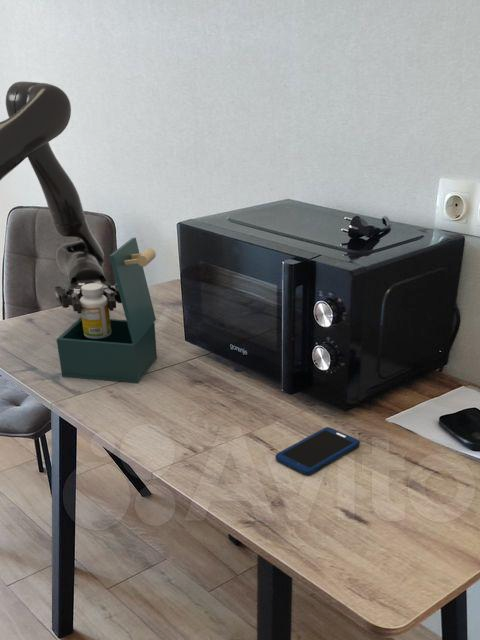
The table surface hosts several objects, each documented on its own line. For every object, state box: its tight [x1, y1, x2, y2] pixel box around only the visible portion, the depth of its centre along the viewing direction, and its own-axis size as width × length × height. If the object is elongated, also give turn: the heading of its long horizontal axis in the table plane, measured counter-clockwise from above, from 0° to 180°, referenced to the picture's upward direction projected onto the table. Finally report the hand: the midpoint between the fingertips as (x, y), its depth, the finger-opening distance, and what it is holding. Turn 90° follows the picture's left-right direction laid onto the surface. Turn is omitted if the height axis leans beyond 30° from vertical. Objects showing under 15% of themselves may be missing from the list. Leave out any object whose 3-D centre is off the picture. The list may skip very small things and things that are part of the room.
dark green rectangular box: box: [55, 316, 158, 384], centre depth 141 cm, size 16×13×8 cm
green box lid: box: [108, 237, 157, 343], centre depth 133 cm, size 16×13×5 cm
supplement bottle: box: [80, 283, 111, 339], centre depth 137 cm, size 5×5×10 cm
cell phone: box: [274, 426, 361, 475], centre depth 115 cm, size 7×14×1 cm, turn 137°
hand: (95, 307), depth 134 cm, fingers closed on supplement bottle, 5 cm apart
